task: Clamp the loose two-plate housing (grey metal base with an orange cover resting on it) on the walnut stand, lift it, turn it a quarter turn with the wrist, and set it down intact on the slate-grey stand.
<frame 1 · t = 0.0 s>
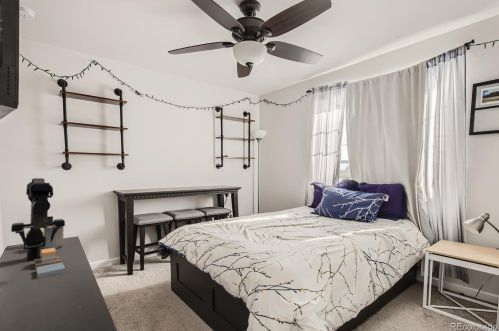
hand: (38, 243, 115), 15 cm above the dresser, tool pointing down, fingers open, 9 cm apart
walnut stand: (47, 264, 129), on the dresser
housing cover: (48, 255, 129), point 4 cm above the dresser, touching housing base
tube: (39, 245, 158), on the dresser
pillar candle: (53, 248, 155), on the dresser
slate stand: (50, 271, 120), on the dresser
housing base: (48, 260, 129), point 2 cm above the dresser, touching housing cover, walnut stand
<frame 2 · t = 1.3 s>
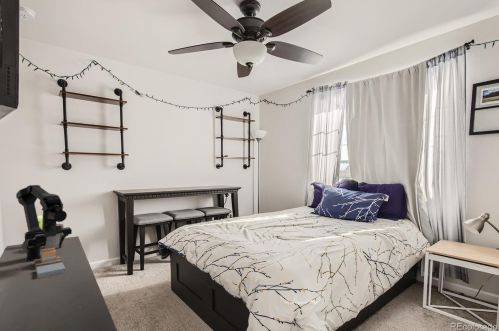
hand: (48, 249, 129), 7 cm above the dresser, tool pointing down, fingers open, 9 cm apart
nothing on the dresser moved.
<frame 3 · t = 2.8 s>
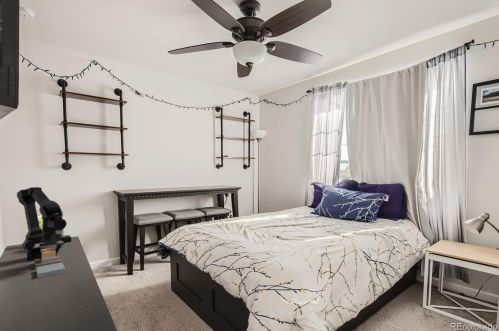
hand: (48, 258, 129), 3 cm above the dresser, tool pointing down, fingers closed on housing base, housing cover, 5 cm apart
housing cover: (48, 255, 129), point 4 cm above the dresser, touching gripper, housing base
housing base: (48, 260, 129), point 2 cm above the dresser, touching gripper, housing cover, walnut stand
everything else where it was.
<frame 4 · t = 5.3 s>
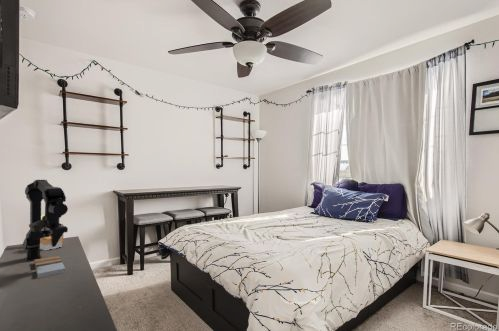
hand: (51, 245, 122), 12 cm above the dresser, tool pointing down, fingers closed on housing base, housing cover, 5 cm apart
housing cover: (51, 242, 122), point 13 cm above the dresser, touching gripper, housing base
housing base: (51, 247, 122), point 11 cm above the dresser, touching gripper, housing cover
everything else where it was.
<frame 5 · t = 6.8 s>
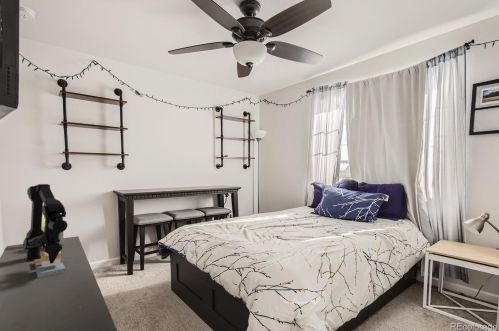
hand: (50, 261, 120), 5 cm above the dresser, tool pointing down, fingers closed on housing base, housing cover, 5 cm apart
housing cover: (51, 258, 120), point 6 cm above the dresser, touching gripper, housing base
housing base: (50, 263, 120), point 4 cm above the dresser, touching gripper, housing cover
everything else where it was.
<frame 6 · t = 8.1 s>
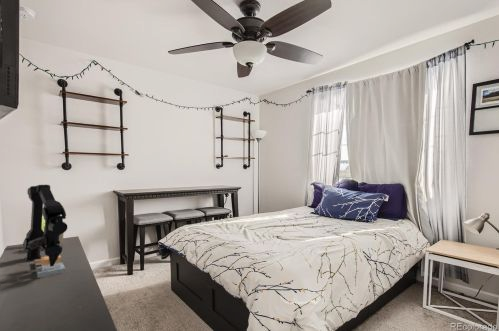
hand: (50, 263, 120), 4 cm above the dresser, tool pointing down, fingers open, 8 cm apart
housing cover: (50, 262, 120), point 4 cm above the dresser, touching housing base
housing base: (50, 267, 120), point 2 cm above the dresser, touching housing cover, slate stand
everything else where it was.
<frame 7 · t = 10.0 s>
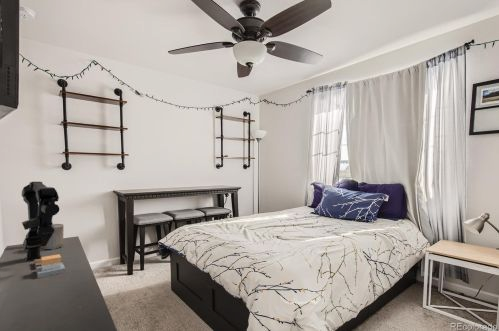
hand: (43, 243, 126), 12 cm above the dresser, tool pointing down, fingers open, 9 cm apart
nothing on the dresser moved.
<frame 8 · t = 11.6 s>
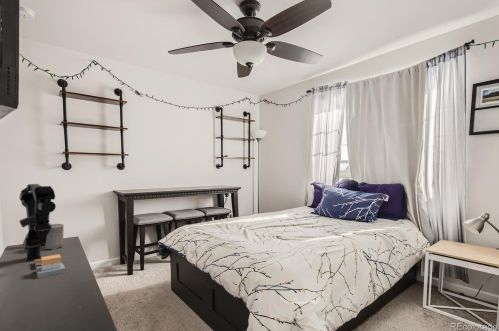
hand: (41, 240, 129), 12 cm above the dresser, tool pointing down, fingers open, 9 cm apart
nothing on the dresser moved.
at the end: housing base 0.1 cm off-centre on the slate stand, point 2.0 cm above the slate stand's base; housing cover 0.0 cm off-centre on the housing base, point 2.5 cm above the housing base's base; the gripper is holding nothing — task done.
